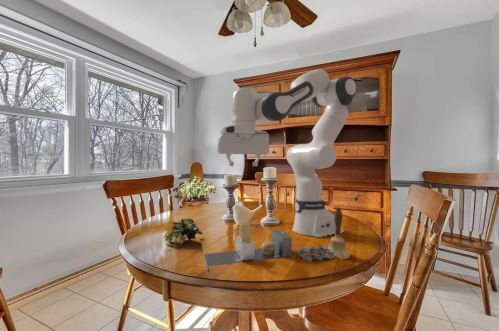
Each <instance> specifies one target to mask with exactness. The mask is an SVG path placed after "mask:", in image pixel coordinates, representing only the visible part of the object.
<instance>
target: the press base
mask: <svg viewBox="0 0 499 331" xmlns="http://www.w3.org/2000/svg"><path fill="white" fill-rule="evenodd" d="M292 239H293V238H292V236H290V235H289V234H288V233H286V232H285V231H284V230H282V229H272V230H271V242H273V243H274V244H275V253H274V254H273V255H264V254H262V247H261V248H255V259H251V260H241V259H240V257H239V255H238V254H237V252H236V250H231V251H221V252H211V253H204V256H203V257H204V263H205V265H206V269H207V272H210V269H209V267H210V266H211V267H212V266H220V265H229V264H236V263H237V264H238V263H244V262H245V263H246V262H252V261H263V260H272V259H273V260H274V259H279V258H281V259H283V258H290V257H291V258H292V243H293V242H292Z"/></svg>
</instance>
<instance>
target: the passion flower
mask: <svg viewBox="0 0 499 331" xmlns="http://www.w3.org/2000/svg"><path fill="white" fill-rule="evenodd" d="M171 223H172V228H171V230H170V232H169V231H167V232H166V233H165V235H164V236H163V237H164V238H165V241H166V242H168V243H170V242H171V241H172V240H173V239H174V243H175V244H177V240H178V238H179V241H180V243H179V245H178V247H179V248H180V247H181V246H182V244H183V242H184V241H185V240H186V239H187V240H188V241H191V240H196V235H197V234H198V235H203V234H204V232H203V231H201V230H200V228H199V226H197V225H198V224H197V223H195V221H194V219H192V218H190V217H187V218H185V217H184V218H181V220H178V221H172V222H171Z"/></svg>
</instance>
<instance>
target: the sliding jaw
mask: <svg viewBox="0 0 499 331" xmlns="http://www.w3.org/2000/svg"><path fill="white" fill-rule="evenodd" d="M251 234H252V224H251V223H250V222H249V221H242V222H241V221H239V222H238V235H235V251H236V252H237V254H238V255H239V257H240V259H241V260H251V259H255V249H256V248H255V247H256V242H255V241H254V240H253V239H252V235H251Z"/></svg>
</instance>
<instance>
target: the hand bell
mask: <svg viewBox="0 0 499 331" xmlns="http://www.w3.org/2000/svg"><path fill="white" fill-rule="evenodd" d="M333 215H334V222H335V226H336V229H335V235H334V236H333V237H331V238H330V241H329V244H328V247H327V248H328V249H330V250H331V252H333V254H334V255H336V256H335V257H337V258H339V259H341V260H342V259H344V258H348V257H349V256H351V255H350V253H349V251H348V250H347V248H346V241H345V239H344V238H343V237H341V234H342V233H340V228H342V227H341V226H342V223H343V212H342V209H341V207H336V209H335V212H334V214H333Z"/></svg>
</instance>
